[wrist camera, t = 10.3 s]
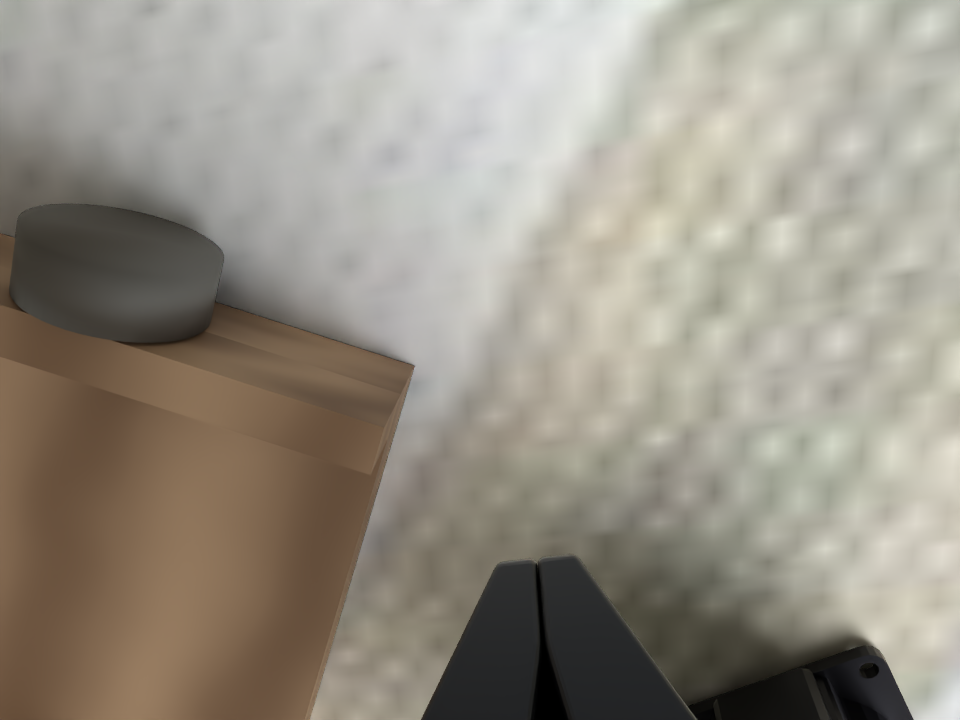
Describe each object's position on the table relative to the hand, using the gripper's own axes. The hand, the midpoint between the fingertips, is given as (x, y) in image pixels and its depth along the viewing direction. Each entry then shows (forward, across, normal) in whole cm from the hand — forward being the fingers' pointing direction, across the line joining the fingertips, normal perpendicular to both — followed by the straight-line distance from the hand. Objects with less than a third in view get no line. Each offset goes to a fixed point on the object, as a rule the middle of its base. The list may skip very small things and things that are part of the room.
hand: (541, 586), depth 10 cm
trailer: (+13, +13, +9) cm, 20 cm away
